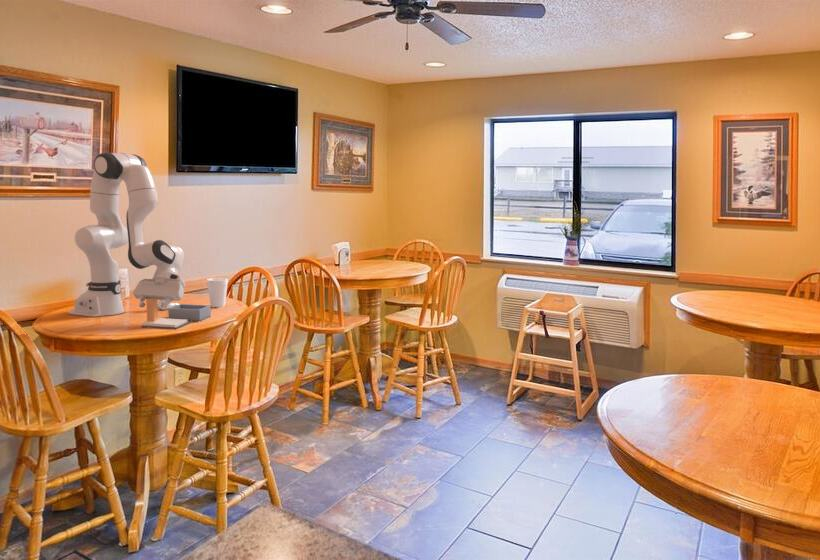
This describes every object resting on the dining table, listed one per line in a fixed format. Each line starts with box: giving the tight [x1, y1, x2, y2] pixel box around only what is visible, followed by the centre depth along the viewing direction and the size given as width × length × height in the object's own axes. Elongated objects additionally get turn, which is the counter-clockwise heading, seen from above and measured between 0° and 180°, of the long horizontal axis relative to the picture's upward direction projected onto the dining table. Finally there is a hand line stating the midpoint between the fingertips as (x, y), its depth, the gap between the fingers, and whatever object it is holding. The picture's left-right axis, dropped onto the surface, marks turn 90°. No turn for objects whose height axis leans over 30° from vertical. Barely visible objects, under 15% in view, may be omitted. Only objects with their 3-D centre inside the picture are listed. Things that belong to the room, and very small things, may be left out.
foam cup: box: [206, 277, 229, 308], centre depth 283 cm, size 10×9×13 cm
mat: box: [141, 321, 191, 330], centre depth 244 cm, size 15×11×1 cm
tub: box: [167, 303, 212, 322], centre depth 257 cm, size 14×10×5 cm
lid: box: [141, 298, 189, 327], centre depth 243 cm, size 14×10×10 cm
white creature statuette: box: [157, 300, 180, 311], centre depth 274 cm, size 10×9×12 cm
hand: (152, 307), depth 243 cm, fingers open, 8 cm apart
